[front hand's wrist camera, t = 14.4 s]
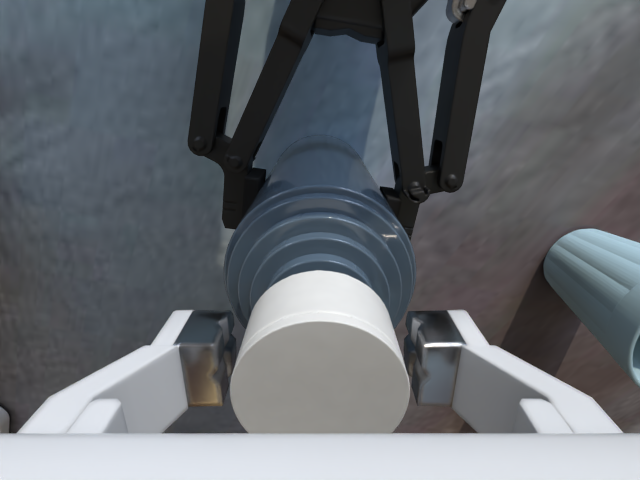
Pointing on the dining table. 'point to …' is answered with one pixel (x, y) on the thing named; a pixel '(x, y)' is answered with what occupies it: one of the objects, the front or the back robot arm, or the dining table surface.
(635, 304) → the cup
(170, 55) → the dining table surface
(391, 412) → the cap
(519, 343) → the dining table surface
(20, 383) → the dining table surface
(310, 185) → the bottle
